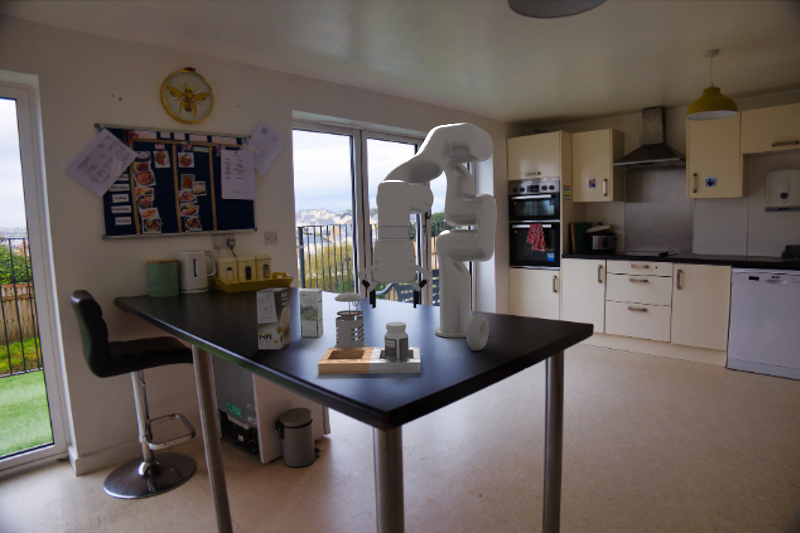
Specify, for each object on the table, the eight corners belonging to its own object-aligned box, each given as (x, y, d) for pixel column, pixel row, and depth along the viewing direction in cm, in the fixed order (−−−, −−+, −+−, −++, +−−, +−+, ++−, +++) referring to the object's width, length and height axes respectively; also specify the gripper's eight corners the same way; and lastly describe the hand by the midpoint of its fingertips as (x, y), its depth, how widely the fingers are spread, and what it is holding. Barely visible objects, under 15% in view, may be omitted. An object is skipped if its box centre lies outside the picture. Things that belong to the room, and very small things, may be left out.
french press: (326, 350, 127) (323, 257, 125) (345, 340, 138) (343, 255, 136) (359, 353, 124) (356, 258, 122) (376, 342, 135) (374, 255, 133)
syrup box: (323, 333, 148) (322, 287, 147) (318, 337, 142) (317, 290, 141) (306, 333, 148) (304, 287, 147) (300, 337, 143) (298, 290, 141)
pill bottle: (405, 360, 116) (404, 320, 115) (411, 366, 111) (411, 325, 110) (382, 362, 115) (381, 322, 114) (388, 369, 109) (387, 326, 108)
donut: (476, 355, 119) (476, 316, 118) (464, 354, 121) (463, 315, 120) (491, 346, 127) (491, 310, 127) (479, 345, 129) (479, 309, 128)
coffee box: (280, 349, 129) (278, 291, 127) (258, 349, 129) (255, 291, 128) (291, 341, 138) (289, 287, 136) (270, 341, 138) (268, 287, 137)
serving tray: (419, 356, 119) (419, 346, 119) (420, 373, 106) (420, 362, 105) (329, 357, 120) (328, 347, 120) (318, 374, 106) (318, 363, 106)
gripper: (430, 234, 114) (430, 305, 115) (358, 235, 114) (359, 305, 115) (431, 234, 106) (432, 310, 107) (355, 234, 106) (356, 310, 107)
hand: (394, 307), depth 111 cm, fingers open, 9 cm apart
